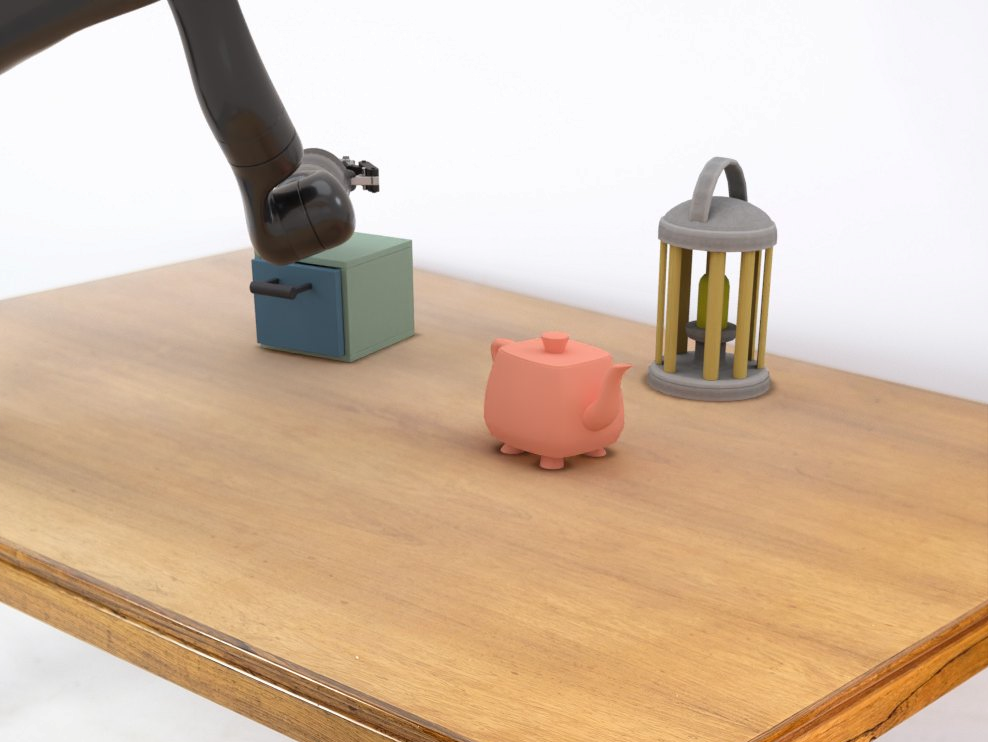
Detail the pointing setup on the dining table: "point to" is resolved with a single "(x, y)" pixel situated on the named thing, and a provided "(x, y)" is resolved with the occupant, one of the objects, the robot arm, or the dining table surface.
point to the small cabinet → (370, 293)
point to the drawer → (298, 306)
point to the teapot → (554, 398)
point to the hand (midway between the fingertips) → (323, 165)
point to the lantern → (713, 292)
